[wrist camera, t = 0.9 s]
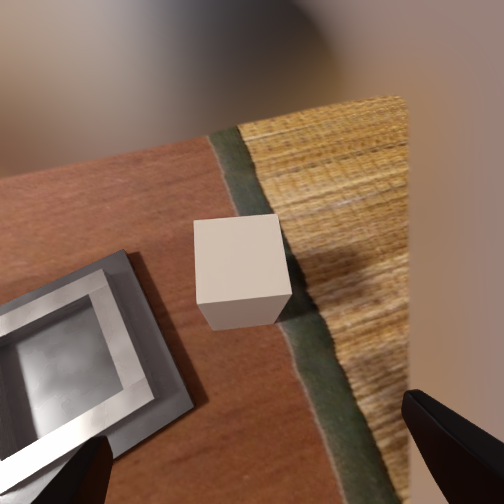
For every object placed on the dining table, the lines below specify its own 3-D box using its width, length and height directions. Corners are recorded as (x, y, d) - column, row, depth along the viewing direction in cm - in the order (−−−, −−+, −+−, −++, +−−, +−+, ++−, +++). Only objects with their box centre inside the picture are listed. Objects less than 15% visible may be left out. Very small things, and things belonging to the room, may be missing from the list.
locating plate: (195, 405, 20) (190, 408, 18) (-14, 541, 17) (-55, 567, 14) (127, 253, 25) (116, 241, 22) (-47, 335, 21) (-81, 330, 19)
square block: (273, 323, 23) (292, 293, 14) (213, 330, 22) (196, 304, 14) (265, 267, 25) (277, 213, 17) (209, 273, 24) (193, 220, 16)
